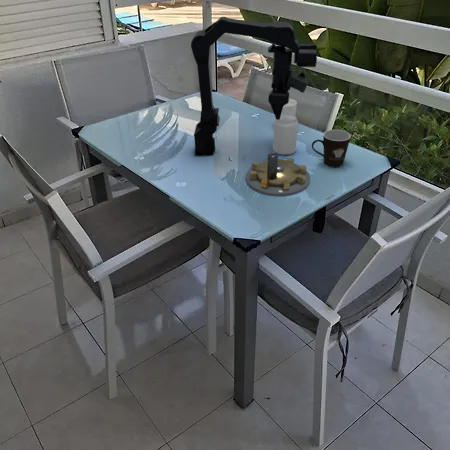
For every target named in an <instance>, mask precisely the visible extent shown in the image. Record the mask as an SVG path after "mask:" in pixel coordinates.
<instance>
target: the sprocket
mask: <svg viewBox="0 0 450 450" xmlns="http://www.w3.org/2000/svg"><path fill="white" fill-rule="evenodd" d="M298 165H299V164H297V163H296V162H295V158H293V157H288V158H286V159H282V158H281V159H280V158H279V154H278V153H276V152H271V153H268V154H267V160H263V161H261V162H258V161H253V162H252V163H251V167H252V169H253V170H256V171H249V177H250V179H251V180H254V179H258V180H259V181H260V182H261V187H263V188H267V187H269V186H276V187H282V188H283V190H288V189H290V185H292V184H294V183H296V182H297V183H301V184H303V183H304V182H305V179H306V176H305V175H301V174H305V173H306V171H307V168H308V167H307V166H306V165H305V164H304V165H302V164H301V165H299V166H298Z"/></svg>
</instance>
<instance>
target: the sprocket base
mask: <svg viewBox="0 0 450 450" xmlns="http://www.w3.org/2000/svg"><path fill="white" fill-rule="evenodd" d="M297 165H298V166H300V165H299V164H297ZM249 171H256V170H253V169H252V166H251V167H250V168H249V169H248V170H247V171H246V174H245V181H246V183H247V186H248V187H250V188H251V189H252V190H253V191H255V192H257V193H260V194H262V195H265V196H273V197H288V196H293V195H296V194H299V193H301V192H303V191H305V190H306V189H307V188H308V187H309V185H310V181H311V175H310V173H309V172H308V171H307V170H306V173H305V174H301V175H305V176H306V179H305V182H304V183H303V184H301V183H297V182H296V183H294V184H292V185H290V189H288V190H283V188H282V187H276V186H269V187H267V188H263V187H261V182H260V181H259V180H258V179H254V180H251V179H250V177H249Z"/></svg>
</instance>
